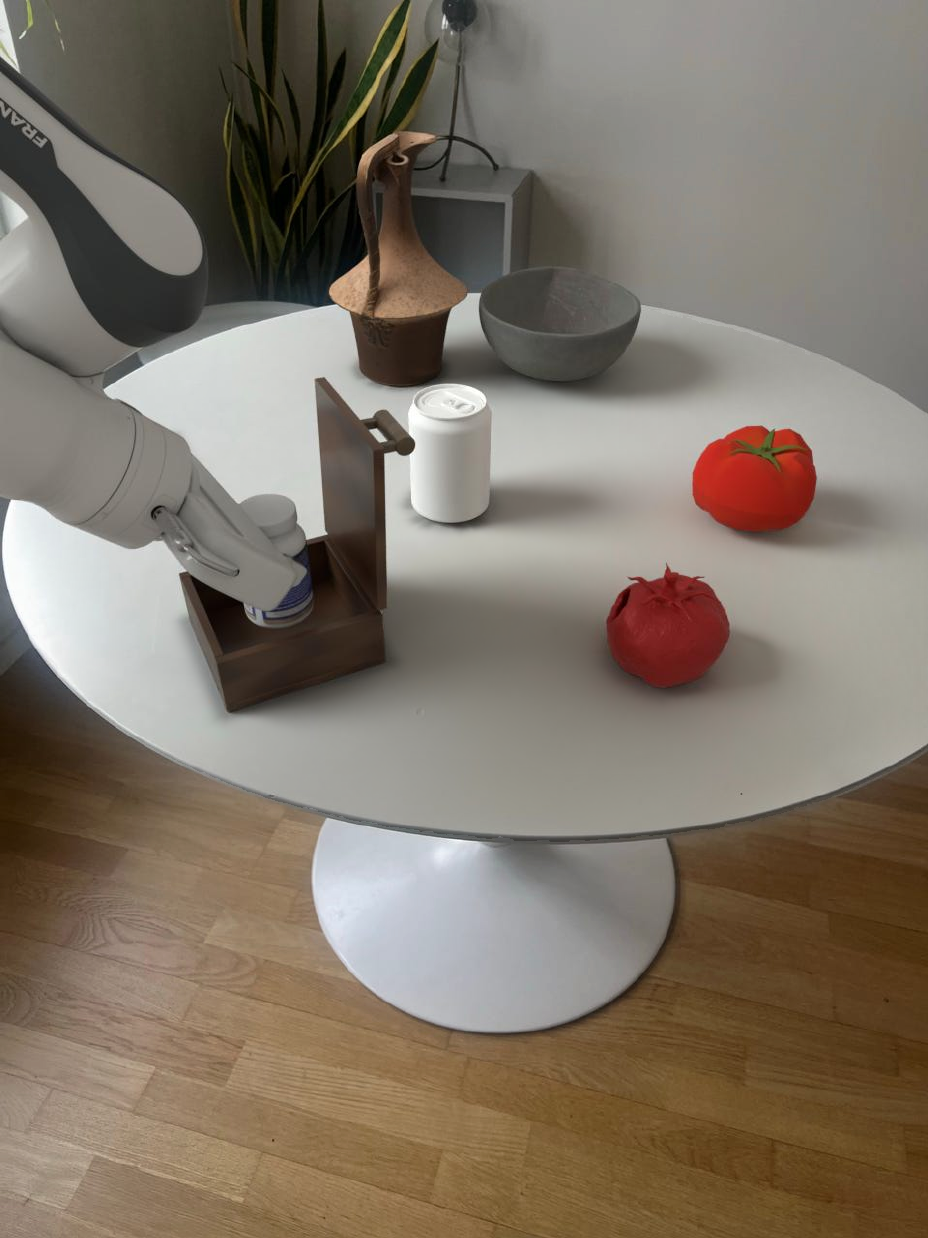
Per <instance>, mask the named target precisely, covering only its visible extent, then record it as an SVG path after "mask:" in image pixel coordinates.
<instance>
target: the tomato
mask: <svg viewBox="0 0 928 1238" xmlns="http://www.w3.org/2000/svg"><path fill="white" fill-rule="evenodd" d="M817 481H818V477H817V471H816V466H815V465H814V457H813V450H812V449H811V447H810V446H809V445H808V443H806V440H805V439H804V438H803V436H802V435H801V434H800V433H799V432H797V431H795V430H793V429H791V428H783V429H779V430H776V428H773V429H772V430H771V431H770V430H769V429H768V428H767V427H766V426H763V425H745V426H743V427H741V428H738V429H736V430H733V431H732V432H730V433H728V434H726V435H725V437H723V438H718V439H716V440H713V441H711V442H710V443H708V444H707V445H706V447H705V448H704V449H703V451H702V452H701V453H700V455H699V456H698V458H697V460H696V462H695V465H694V469H693V471H692V481H691V482H692V484H691V486H692V487H691V488H692V497H693V501H694V503H695V505H696V506H697V507H698V508H699V509H700V510H702V511H704V512H707V513H708V514H709V516H711V517H712V518H713V519H714V520H715V521H716V522H717V523H719V524H721V525H724V526H725V527H729V528H730V529H733V530H736V531H746V532H763V531H777V530H778V531H779V530H784V529H788V528H790V527H792V526H795V524H797V523H799V522H800V521H801V520H802V519H803V518H804V517H805V516H806V514H807V513H808V511H809V510H810V508H811V505H812V503H813V501H814V499H815V493H816V488H817Z"/></svg>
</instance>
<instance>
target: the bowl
mask: <svg viewBox="0 0 928 1238" xmlns="http://www.w3.org/2000/svg"><path fill="white" fill-rule="evenodd" d="M641 312H642V306H641V302H640V299H639V298H638V297H637V296H636V295H635V294H633V292H631V291H630V290H628V289H627V288H626V287H624V286H622V285H620V284H618V283H616V282H612V281H609V280H607V279H604V278H602V277H600V276H597V275H595V274H592V273H588V272H586V271H584V270H583V269H581V268H576V267H566V266H537V267H529V268H524V269H521V270H517V271H513V272H510V273H508V274H504V275H503V276H500V277H498V278H496V279H494V280H492V281H491V282H490V283H489V284H487V285H486V286H485V287H484V289H483V290H482V291H481V293H480V296H479V299H478V316H479V322H480V326H481V330H482V332H483V334H484V337H485V339H486V341H487V343H488V345H489V346H490V348H491V349H492V351H493V352H494V354H495V355H496V356H497V357H498V358H499V360H500V361H501V362H503V364H504V365H506V366H507V367H508V368H510V369H512V370H513V371H515V372H517V373H519V374H522V375H524V376H527V377H531V378H534V379H539V380H542V381H550V382H571V381H577V380H583V379H586V378H590V377H592V376H595V375H597V374H600V373H602V372H603V371H606V370H607V369H609V368H610V367H612V366H613V365H614V364H615V363H616V362H618V360H619V359H620V358H621V357H622V356H623V355H624V353H625V352H626V351H627V349H628V347H629V346H630V344H631V342H632V341H633V338H634V336H635V334H636V331H637V329H638V325H639V322H640V317H641V314H642V313H641Z"/></svg>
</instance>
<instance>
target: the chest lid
mask: <svg viewBox="0 0 928 1238" xmlns="http://www.w3.org/2000/svg"><path fill="white" fill-rule="evenodd" d="M314 389H315V404H316V418H317V419H316V420H317V421H316V422H317V435H318V449H319V463H320V479H321V491H322V505H323V506H322V507H323V508H322V509H323V522H324V531H325V532H326V535H327V534H328V535H329V537H330V538H331V540H332V542H333V543H334V545H335V546H336V548H337V549H338V551H339V552H340V554H341V555H342V557H343V558H344V560H345V561H346V563H347V564H348V566H349V567H350V569H351V571H352V572H353V574H354V575H355V577H356V578H357V580H358V581H359V583H360V584H361V586H362V587H363V589H364V590H365V592H366V593H367V595H368V596H369V598H370V600H371V601H372V603H373V604H374V606H375V607H376V609H377V610H378V611H379V610H380V611H382V610H386V609H388V577H387V576H388V574H387V573H388V571H387V570H388V569H387V566H388V565H387V522H386V521H387V519H386V518H387V517H386V515H387V514H386V467H385V466H386V465H385V454H390V453H395V452H396V453H397V454H398V455H399V456H402V457H407V456H410V454H411V453H412V452H413V451H414V449H415V441H414V439H413V438H412V437H411V436H410V435H409V432H408V431H407V430H406V429H405V428H404V427H403V426H402V425H401V423H400V422H399V421H398V420H397V419H396V418H395V417H394V416H393V415H392V413H390V411H389V410H387V409H379V410H377V411H376V412H375V413H374V414H373V416H372V417H369V418H363V419H361V418H359V416H358V415H357V414H356V413H355V412H354V411H353V409H352V408H351V407H350V406H349V404H348V403H347V402H346V401H345V400H344V399H343V397H342V396H341V395H340V393H339V392H337V390H336V389H335V388H334V387H333V385H332V384H331V382H329V381H328V379H327V378H326V377H325V376H323V377H316V378H314ZM375 429H376V430H378V432H379V433H380V434H381V436H383V438H384V439H385V440H386V441H381V442H379V440H378V439H377V438H376V437H375V435H373V433H372V432H371V430H375Z"/></svg>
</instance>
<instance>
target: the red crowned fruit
mask: <svg viewBox="0 0 928 1238" xmlns="http://www.w3.org/2000/svg"><path fill="white" fill-rule="evenodd" d="M665 566H666V568H665V571H664V574H663V577H658V578H656V579H652V580H649V581H648V580H647V579H646V578H644V577H642V576H633V577H631V576H626V577H627V579H629V580H630V581H637V582H633V583H632V584H630V585H628V586H627V587H626V588H624V589H622V590H621V591H620V592H619V593H618V595H616V598H615V600H614V602H613V604H612V606H611V607H610V611H609V614H608V616H607V618H606V621H605V625H606V626H605V627H606V633H607V635H606V636H607V639H606V640H607V645H608V649H609V652H610V654H611V657H612V658H613V660H614V661H616V663H617V664H618V665H619V666H620V668H622V669H623V670H624V671H625V672H626V673H629V674H631V675H633V676H636V677H639V678H642V680H643V681H644V682H645V683H647V684H648V685H650V686H653V687H656V688H670V687H673V686H676V685H681V684H687V683H689V682H691V681H694V680H697V679H698V678H701V677H702V676H703V675H704V674H705V673H707V671H708V670H710V669H711V668H712V667H713V666H714V665H715V663H716V662H717V661H718V660H719V658H720V657H721V655H722V653H723V652H724V650H726V649H725V648H726V646H727V644H728V642H729V639H730V635H731V630H730V626H731V625H730V622H729V618H728V615H727V611H726V608H725V607H724V606H723V604H722V601H720V599H719V598H718V597H717V594H716V593H715V590H714V589H713V587H711V586H710V584H708V583H707V582H705V581H702V580H701V579H704V578H705V576H700V575H696V576H693V577H691V576H689V575H685V574H680V573H679V572H677V571H671V568H670V567H669V565H668V562H665ZM699 579H700V580H699Z"/></svg>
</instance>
